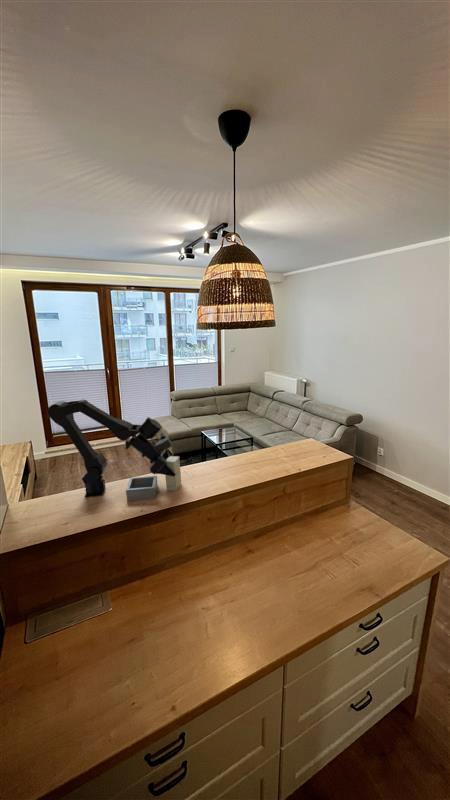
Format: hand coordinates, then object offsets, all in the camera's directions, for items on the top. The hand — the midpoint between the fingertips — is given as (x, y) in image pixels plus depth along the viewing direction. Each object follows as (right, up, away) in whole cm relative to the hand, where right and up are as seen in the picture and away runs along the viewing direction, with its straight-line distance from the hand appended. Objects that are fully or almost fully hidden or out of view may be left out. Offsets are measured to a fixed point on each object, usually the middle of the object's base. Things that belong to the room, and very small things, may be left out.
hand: (175, 470), depth 129 cm
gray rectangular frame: (-12, -8, -3) cm, 15 cm away
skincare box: (-1, -7, +1) cm, 7 cm away
